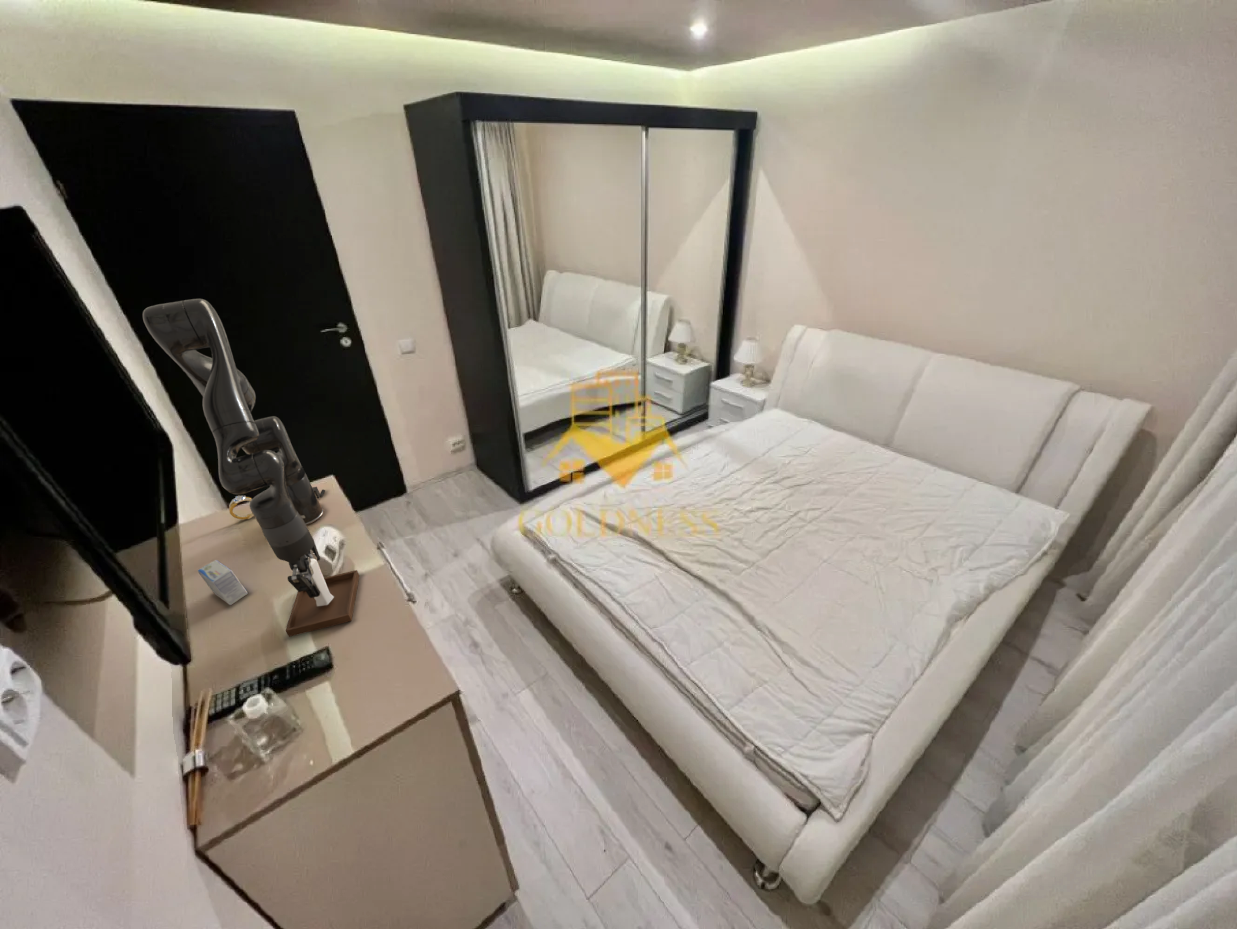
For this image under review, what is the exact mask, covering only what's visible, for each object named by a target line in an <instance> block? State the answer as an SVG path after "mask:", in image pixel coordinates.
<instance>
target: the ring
mask: <svg viewBox="0 0 1237 929" xmlns="http://www.w3.org/2000/svg"><path fill="white" fill-rule="evenodd" d="M253 498H254V497H253ZM253 498H252V497H250V496H246V495H244V494H238V495H236V496H235V498H233V499H231V501H230V503H229V506H228V509H229V514H230V516H232V518H235V519H238V520H251V519H252V518H253V517H255V516H254V515H253V513H252V512H251V514H250V513H249V514H246V515H243V516H242V515H238V514H235V512H234V511H233V510H234V509H235V507H236V506H237V505H238V504H239V503H241V502H246V501H247V502H248V501H249V502H250V501H251V500H252V499H253Z"/></svg>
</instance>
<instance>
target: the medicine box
mask: <svg viewBox="0 0 1237 929" xmlns="http://www.w3.org/2000/svg"><path fill="white" fill-rule="evenodd" d="M197 573H198V574H199V576H200V577H201V578H202V580H203V581H204V582H205V584H206V585H207V586H208V587H209V589H210V590H211V591H212V593H213V594H214V595H216V596H217V597H218V598H219V599H221V600H222V601H223V602H224V603H226V604H227V605H228V606H232V605H233V604H235V603H236V602H238V601H239V600H241V599H242V598H244V597H245V596H247V595H248V594H249V593H248V591H247V590H246V588H245V586H243V584H242V583H241V581H240V580H239V578H238V577H237V576H236V573H234V571H233V570H232V569H230V568H229V567H228V566H226V565H224V564H223V563H221V562H220V561H219V560H217V559H215V560H213V561H211V562H209V563H207V564H205V565H203V566H202V567H201V568H199V569H197Z"/></svg>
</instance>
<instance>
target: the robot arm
mask: <svg viewBox="0 0 1237 929" xmlns="http://www.w3.org/2000/svg"><path fill="white" fill-rule="evenodd" d="M142 320H143V323H144V325H145V327H146V329H147V331H148V333H149V335H150V336H151V337H152V339H154V341H155V342H156V344H157V345H158V346H159V347H160V348H161V349H162V350H163V351H164V352H165V353H166V354H167V355H168V356H169V357H170V359H172V360H173V361H174V363H176V364H177V366H179V368H180V369H181V370H182V371H183V372H184V373H185V374H186V376H187V377H188V379H189V380H190V381H191V382H192V383H193V385H194V386H195V388H196V389H197V391H198V392H199V394H200V395H201V396H202V410H203V415H204V417H205V419H206V422H207V424H208V427H209V429H210V431H211V433H212V436H213V438H214V441H215V445H216V451H217V459H218V460H217V465H218V466H217V467H218V470H217V471H218V478H219V482H220V484H221V487H223V488H224V489H225V491H227V492H228V493H230V494H233V495H244V494H247V493H250V492H253V491H256V490H259V489H262V488H265V487H267V489H266V490H263V491H261V492H260V493H258V494H257V495H255V496H254V497H253V499H252V500H251V501H249V509H250V511H251V514H252V513H253V515H254V516H253V517H254V518H255V520H256V521H257V523H258V525H259V527H260V529H261V531H262V532H261V533H262V534H263V536H264V538H265V539H266V542H267V544H268V545H269V547H270V548H271V549H272V552H273V553H274V555H275V556H276V559H278V560H280V561H283V562H286V563H288V566H289V568H290V570H291V571H292V573H291V575H288V576H287V581H288V582H289V584H291V585H292V587H294V589H295V590H296V591H297V592H301V591H306V592H307V594H308V596H309V597H310V598H313V597H318V596H319V595H320V591H319V589H318V588H317V586H316V584H315V582H314V579H313V577H312V575H313V574H314V572H313V569H312V567H311V559H310V558H313V559H315V560H317V563H318V565H319V568H320V562H319V561H320V560H321V556H320V554H319V551H318V547H317V546H316V542H315V539H314V537H313V536H312V534H311V532H310V530H309V528H308V526H309V525H311V524H313V523H315V522H316V521H318V520H320V518H322V517H323V515H324V514H325V511H324V508H323V507H322V505H321V503H320V501H319V499H320V498H322V497H323V496H324V495H325V493H326V489H321V491H320V490H319V488H318V487H317V486H312V484H311V481H310V480H309V478H308V475H307V474H306V472H305V470H304V468H303V466H302V464H301V462H300V460H299V457H298V455H297V454H296V451H295V449H294V447H293V445H292V443H291V439H290V437H289V434H288V432H287V430H286V428H285V425H284V423H283V422H282V421H281V419H280V418H279V417H277V416H276V415H271V416H265V417H261V418H258V419H254V417H253V414H252V411H253V409H254V407H255V405H256V399H257V396H256V395H257V394H256V392H255V390H254V388H253V387H252V385H251V383H250V382H249V380H248V378H247V377H246V376H245V375H244V373H243V372H242V371H241V370H239V369H238V368H237V366H236V363H235V359H234V355H233V352H232V349H231V345H230V342H229V338H228V335H227V333H226V330H225V327H224V324H223V321H222V320H221V318H220V315H218V312H217V311H216V309H215V308H214V307H213V305H212V304H211V303H210V302H209V301H208V300H206V299H203V298H192V299H185V300H176V301H171V302H166V303H165V302H164V303H159V304H154V305H151V306H147V307H146V308H145V309H144V310H143V311H142ZM207 348H210V351H211V357H210V356H208V355H205V354H203V353H201V352H199V351H198V350H201V349H202V350H203V349H207ZM240 450H243V452H244V453H245V455H241V456H238V453H239V451H240ZM275 451H277V452H275ZM237 456H238V457H237ZM268 486H269V487H268ZM305 555H306V556H305ZM307 569H308V572H309V573H307V574H300V573H304V572H307ZM321 573H322V575H323V577H324V578H325V576H324V574H323V572H322V571H321ZM306 578H308V579H309V581H308V580H307V579H306Z"/></svg>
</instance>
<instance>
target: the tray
mask: <svg viewBox="0 0 1237 929" xmlns="http://www.w3.org/2000/svg"><path fill="white" fill-rule="evenodd" d="M324 580H325V582H326V585H327V587H328V590H329V592H330V594H331V595H333V596H334V598H333V599H332V600H331V602H330V603H329V604H328V605H324V606H317V604H316V600H315V598H314V597H313V598H310V597H309V596H308V594H307V592H306V591H301V592H298V591H297V592H296V595H295V598H294V602H293V606H292V609H291V612H290V615H289V618H288V622H287V624H286V628H285V631H284V632H285V633H286V634H287V636H288V637H289V638H291V637H294V636H298V635H302V634H305V633H306V634H307V633H309V632H313V631H317V630H321V629H325V628H329V627H333V626H338V625H340V624H344V623H349V622H352V620H353V616H354V615H353V614H354V609H355V604H356V598H357V593H358V586H359V581H360V573H359V572H358V570H357V569H355V570H351V571H347V572H342V573H339V574H334V575H330V576H326V577H325V576H324Z"/></svg>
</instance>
